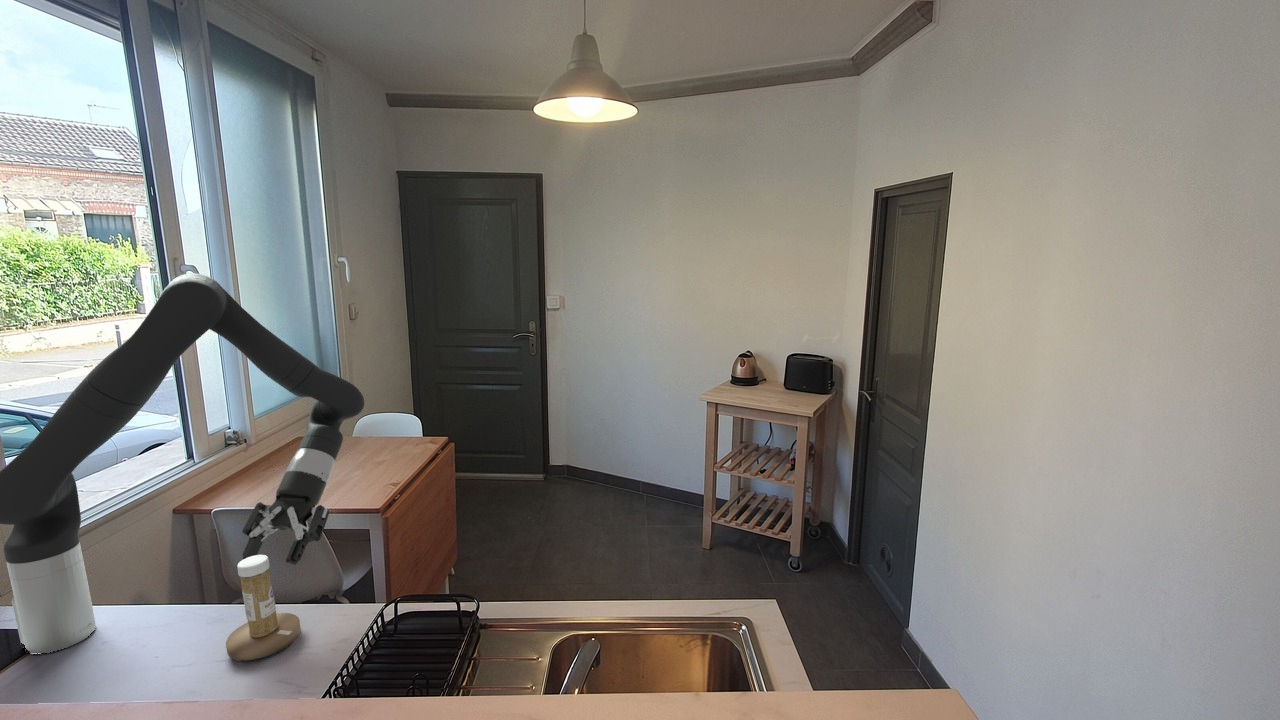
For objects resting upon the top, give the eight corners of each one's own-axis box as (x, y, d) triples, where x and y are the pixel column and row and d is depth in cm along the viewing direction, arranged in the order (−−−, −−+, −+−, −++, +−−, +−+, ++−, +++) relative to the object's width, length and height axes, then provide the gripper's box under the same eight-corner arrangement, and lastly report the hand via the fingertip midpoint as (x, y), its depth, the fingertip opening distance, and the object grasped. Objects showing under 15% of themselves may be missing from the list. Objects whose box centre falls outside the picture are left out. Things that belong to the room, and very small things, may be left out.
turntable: (210, 657, 98) (209, 649, 98) (260, 618, 109) (259, 610, 109) (269, 662, 97) (268, 653, 97) (314, 622, 108) (313, 614, 107)
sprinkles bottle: (279, 632, 102) (268, 561, 100) (248, 642, 100) (236, 570, 98) (278, 619, 106) (267, 550, 104) (248, 628, 104) (236, 558, 101)
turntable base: (221, 660, 99) (220, 654, 99) (262, 627, 108) (261, 622, 108) (269, 663, 98) (268, 658, 98) (306, 630, 107) (305, 625, 107)
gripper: (261, 467, 111) (218, 553, 102) (329, 470, 109) (292, 558, 100) (285, 483, 117) (247, 566, 108) (350, 486, 115) (317, 570, 106)
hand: (269, 562), depth 104 cm, fingers open, 8 cm apart
